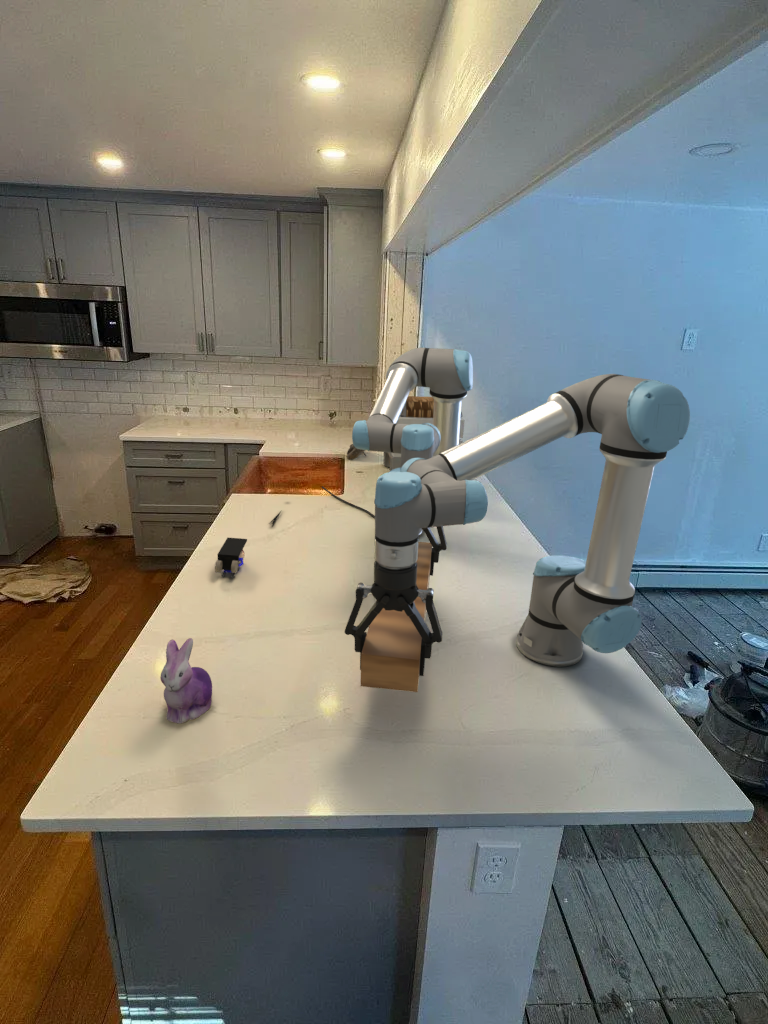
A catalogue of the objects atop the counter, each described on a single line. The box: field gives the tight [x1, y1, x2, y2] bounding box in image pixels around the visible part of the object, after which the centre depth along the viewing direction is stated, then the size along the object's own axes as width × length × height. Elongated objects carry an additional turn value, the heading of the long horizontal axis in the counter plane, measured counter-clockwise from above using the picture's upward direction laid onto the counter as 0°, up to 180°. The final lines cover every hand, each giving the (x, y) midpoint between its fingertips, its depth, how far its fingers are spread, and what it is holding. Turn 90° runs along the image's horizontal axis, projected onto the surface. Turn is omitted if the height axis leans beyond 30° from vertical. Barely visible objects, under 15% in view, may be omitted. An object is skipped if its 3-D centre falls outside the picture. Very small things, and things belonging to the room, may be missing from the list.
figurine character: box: [214, 537, 248, 578], centre depth 166 cm, size 7×8×15 cm
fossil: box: [346, 443, 367, 461], centre depth 300 cm, size 22×10×15 cm
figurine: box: [159, 637, 213, 724], centre depth 107 cm, size 9×10×15 cm
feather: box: [268, 510, 282, 527], centre depth 212 cm, size 2×28×2 cm
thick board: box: [360, 541, 433, 693], centre depth 125 cm, size 53×10×7 cm, turn 173°
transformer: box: [383, 395, 465, 472], centre depth 268 cm, size 34×33×41 cm
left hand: (410, 571), depth 145 cm, fingers closed on thick board, 10 cm apart
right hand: (392, 668), depth 106 cm, fingers closed on thick board, 10 cm apart
